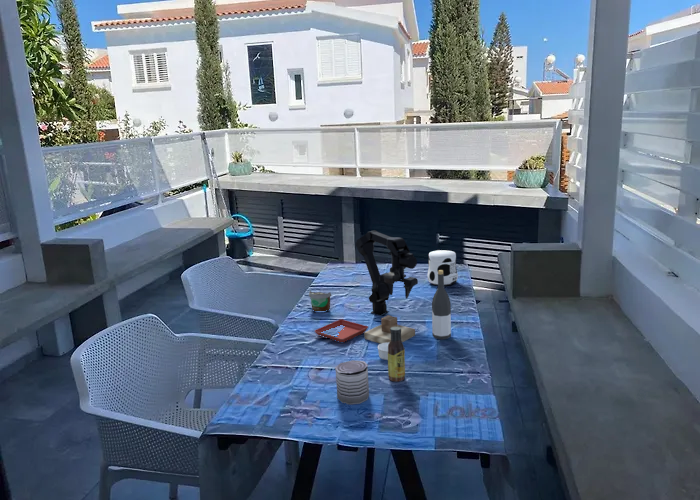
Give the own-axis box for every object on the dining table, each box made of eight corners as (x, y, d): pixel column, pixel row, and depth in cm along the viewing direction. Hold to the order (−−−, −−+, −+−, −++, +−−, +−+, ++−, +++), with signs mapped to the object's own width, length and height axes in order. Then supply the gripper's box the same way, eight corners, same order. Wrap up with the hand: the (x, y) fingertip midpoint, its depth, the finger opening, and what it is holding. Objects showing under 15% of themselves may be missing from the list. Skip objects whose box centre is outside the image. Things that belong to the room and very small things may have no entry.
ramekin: (387, 350, 231) (387, 340, 230) (404, 355, 225) (403, 345, 224) (373, 357, 225) (373, 347, 224) (389, 362, 219) (389, 352, 218)
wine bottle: (450, 339, 237) (450, 273, 231) (431, 339, 239) (430, 273, 232) (451, 332, 245) (450, 268, 238) (432, 332, 247) (431, 268, 240)
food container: (305, 312, 282) (304, 294, 279) (310, 308, 287) (309, 290, 285) (327, 314, 277) (326, 295, 275) (332, 310, 283) (331, 292, 280)
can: (344, 407, 186) (342, 375, 183) (332, 393, 196) (330, 362, 193) (374, 399, 190) (373, 367, 188) (361, 386, 200) (359, 355, 198)
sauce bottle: (400, 384, 200) (398, 333, 196) (385, 380, 204) (383, 330, 199) (408, 376, 206) (406, 326, 201) (393, 373, 209) (391, 324, 205)
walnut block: (381, 331, 243) (381, 318, 242) (388, 327, 247) (388, 315, 246) (390, 333, 240) (390, 320, 239) (397, 330, 244) (397, 317, 242)
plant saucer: (313, 337, 250) (313, 330, 249) (341, 325, 263) (340, 318, 262) (342, 346, 238) (342, 339, 237) (369, 333, 251) (369, 326, 250)
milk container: (427, 279, 328) (426, 250, 324) (457, 279, 325) (456, 249, 321) (427, 288, 311) (426, 257, 307) (458, 287, 309) (458, 256, 305)
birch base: (364, 338, 244) (364, 332, 243) (387, 327, 255) (386, 321, 254) (393, 347, 233) (392, 340, 232) (415, 335, 244) (415, 329, 244)
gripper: (371, 266, 258) (372, 297, 261) (403, 271, 245) (404, 304, 249) (386, 260, 266) (387, 291, 269) (418, 266, 253) (418, 298, 257)
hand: (398, 296), depth 261 cm, fingers open, 9 cm apart
